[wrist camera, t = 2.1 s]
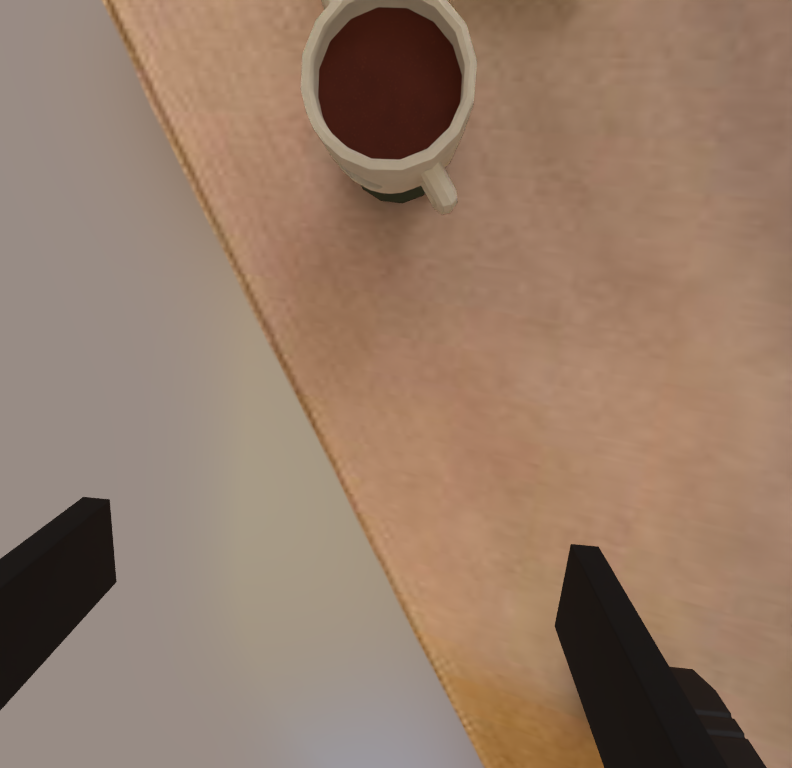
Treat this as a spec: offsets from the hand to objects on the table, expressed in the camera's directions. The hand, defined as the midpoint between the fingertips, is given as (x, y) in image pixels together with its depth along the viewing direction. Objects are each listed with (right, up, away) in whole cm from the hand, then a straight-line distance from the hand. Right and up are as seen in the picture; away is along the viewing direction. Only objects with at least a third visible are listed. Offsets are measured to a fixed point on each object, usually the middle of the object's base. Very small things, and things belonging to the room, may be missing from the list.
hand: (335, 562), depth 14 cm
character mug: (+2, +20, +18) cm, 27 cm away
